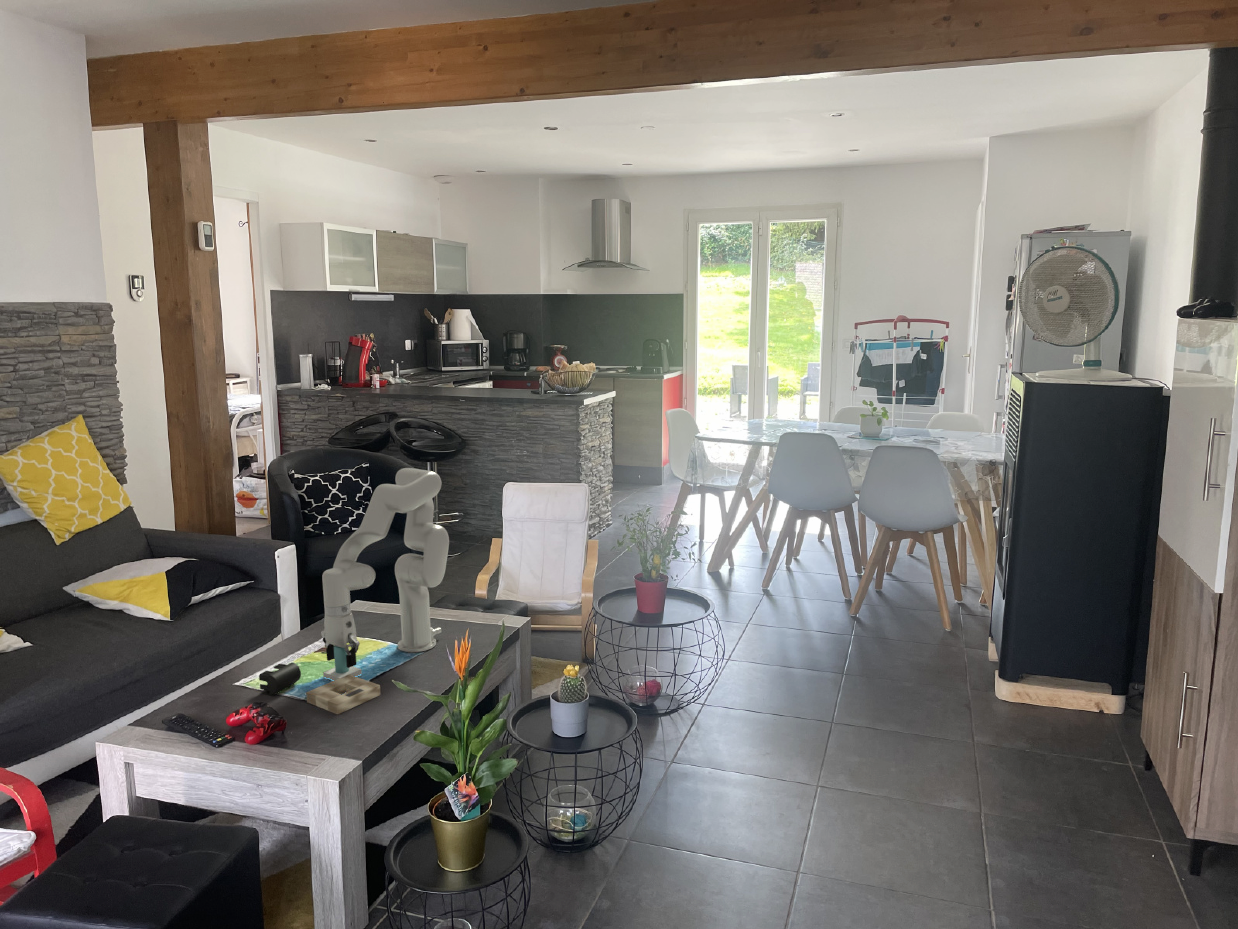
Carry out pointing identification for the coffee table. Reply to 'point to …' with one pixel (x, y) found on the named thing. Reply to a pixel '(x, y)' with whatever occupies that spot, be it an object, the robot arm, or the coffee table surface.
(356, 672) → the light grey square slab
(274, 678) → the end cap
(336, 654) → the teal peg
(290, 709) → the coffee table surface
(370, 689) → the plate
